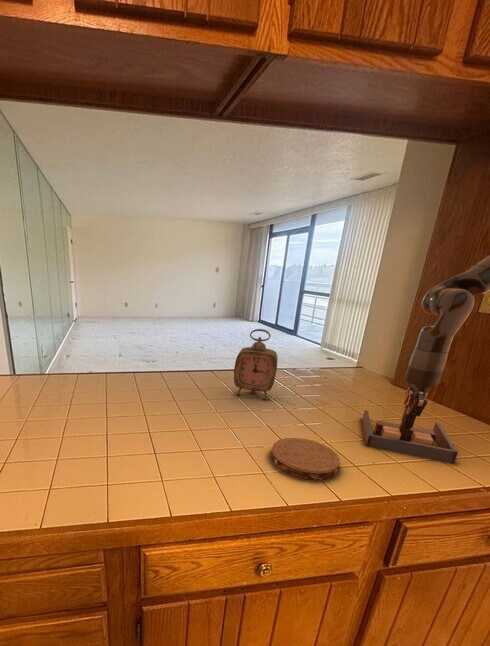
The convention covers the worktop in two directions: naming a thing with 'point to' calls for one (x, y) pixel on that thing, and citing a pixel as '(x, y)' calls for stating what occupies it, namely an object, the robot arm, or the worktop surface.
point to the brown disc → (305, 459)
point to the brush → (403, 429)
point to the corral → (412, 443)
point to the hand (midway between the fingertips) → (406, 424)
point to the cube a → (390, 432)
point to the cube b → (421, 438)
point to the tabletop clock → (255, 367)
